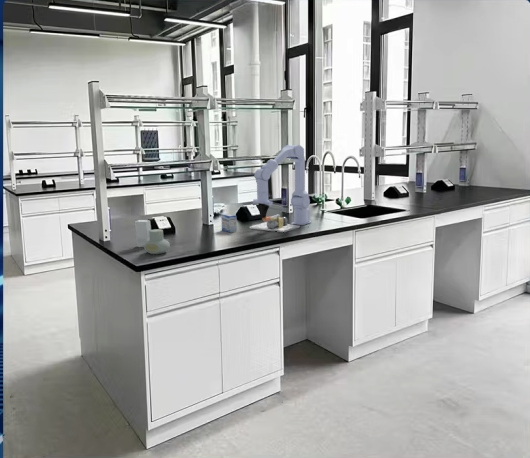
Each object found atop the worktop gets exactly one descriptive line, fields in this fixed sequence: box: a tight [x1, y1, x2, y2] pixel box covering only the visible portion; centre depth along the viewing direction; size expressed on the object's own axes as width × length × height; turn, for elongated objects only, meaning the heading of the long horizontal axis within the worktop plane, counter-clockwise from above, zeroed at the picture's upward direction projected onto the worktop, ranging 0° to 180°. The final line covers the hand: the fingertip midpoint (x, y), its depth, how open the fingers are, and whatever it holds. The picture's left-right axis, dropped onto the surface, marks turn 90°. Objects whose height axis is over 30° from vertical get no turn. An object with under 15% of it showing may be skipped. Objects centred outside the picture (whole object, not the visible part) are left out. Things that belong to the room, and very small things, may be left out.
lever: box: [261, 214, 281, 222], centre depth 254 cm, size 14×3×1 cm, turn 145°
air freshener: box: [143, 228, 171, 255], centre depth 210 cm, size 11×8×10 cm
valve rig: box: [249, 216, 301, 233], centre depth 260 cm, size 16×22×6 cm
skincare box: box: [134, 219, 152, 248], centre depth 222 cm, size 6×4×12 cm
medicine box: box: [220, 213, 238, 233], centre depth 254 cm, size 8×4×9 cm, turn 40°
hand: (263, 218), depth 252 cm, fingers closed
